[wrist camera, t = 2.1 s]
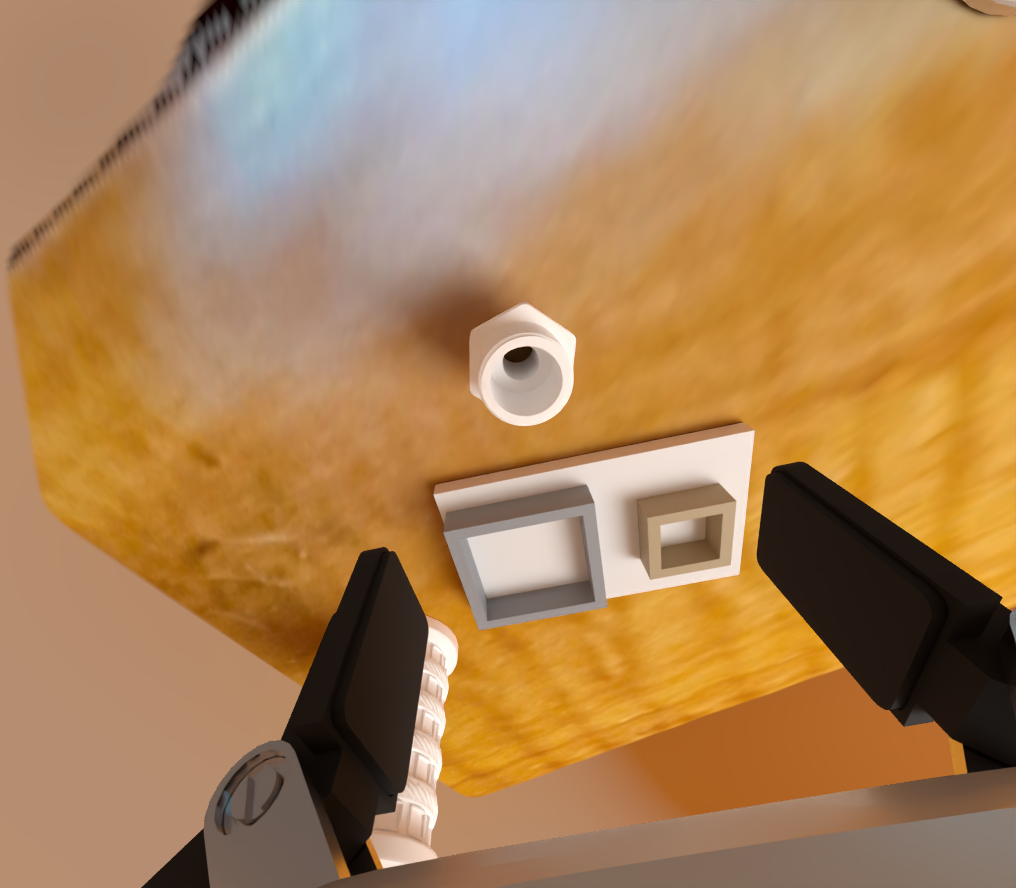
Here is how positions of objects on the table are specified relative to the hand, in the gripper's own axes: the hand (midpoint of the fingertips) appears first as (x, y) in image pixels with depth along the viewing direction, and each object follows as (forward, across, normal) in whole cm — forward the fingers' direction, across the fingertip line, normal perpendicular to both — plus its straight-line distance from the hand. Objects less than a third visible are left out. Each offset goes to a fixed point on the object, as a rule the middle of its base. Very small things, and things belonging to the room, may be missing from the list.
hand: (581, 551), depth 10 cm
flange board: (+20, -4, +18) cm, 27 cm away
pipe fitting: (+21, 0, 0) cm, 21 cm away
